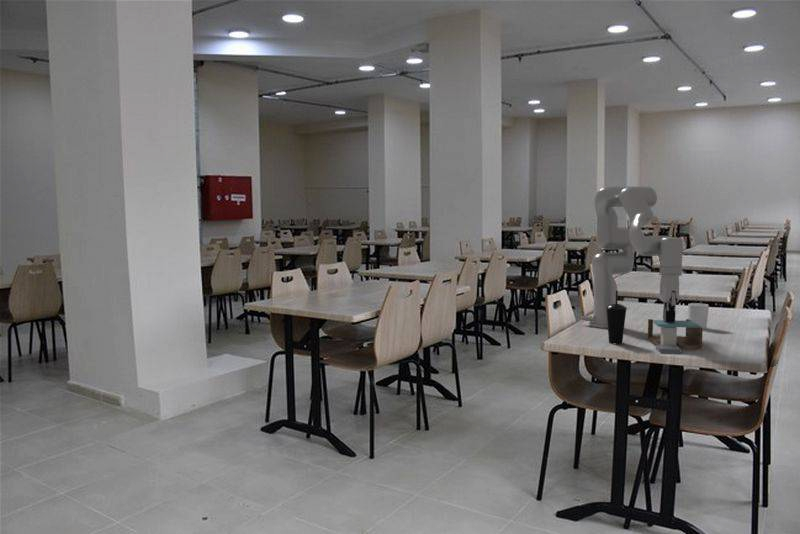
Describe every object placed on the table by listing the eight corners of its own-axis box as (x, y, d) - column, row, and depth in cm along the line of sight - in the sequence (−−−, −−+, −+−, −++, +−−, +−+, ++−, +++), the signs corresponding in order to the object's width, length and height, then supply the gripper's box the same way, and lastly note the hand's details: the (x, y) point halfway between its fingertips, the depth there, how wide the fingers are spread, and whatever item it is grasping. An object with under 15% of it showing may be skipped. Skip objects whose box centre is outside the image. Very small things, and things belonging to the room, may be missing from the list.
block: (663, 347, 242) (663, 327, 242) (660, 345, 247) (660, 325, 246) (676, 348, 242) (676, 327, 241) (673, 345, 246) (673, 325, 246)
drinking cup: (609, 339, 257) (610, 288, 255) (629, 342, 252) (630, 290, 250) (601, 343, 251) (602, 290, 249) (621, 345, 246) (622, 292, 244)
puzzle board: (658, 348, 241) (658, 326, 240) (647, 338, 258) (648, 318, 258) (701, 349, 238) (702, 327, 238) (688, 339, 256) (688, 319, 255)
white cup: (710, 330, 275) (710, 306, 274) (689, 329, 277) (690, 305, 276) (705, 326, 283) (706, 303, 282) (685, 326, 285) (686, 302, 284)
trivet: (659, 352, 234) (659, 348, 234) (655, 349, 240) (656, 345, 240) (680, 353, 233) (680, 349, 233) (676, 349, 239) (676, 345, 239)
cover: (658, 326, 240) (659, 310, 240) (653, 322, 248) (654, 306, 248) (698, 327, 238) (699, 311, 237) (692, 323, 246) (692, 307, 246)
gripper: (654, 268, 250) (653, 316, 252) (665, 273, 234) (663, 324, 236) (675, 269, 249) (674, 317, 251) (687, 273, 233) (685, 325, 235)
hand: (669, 320), depth 243 cm, fingers closed on cover, 3 cm apart
